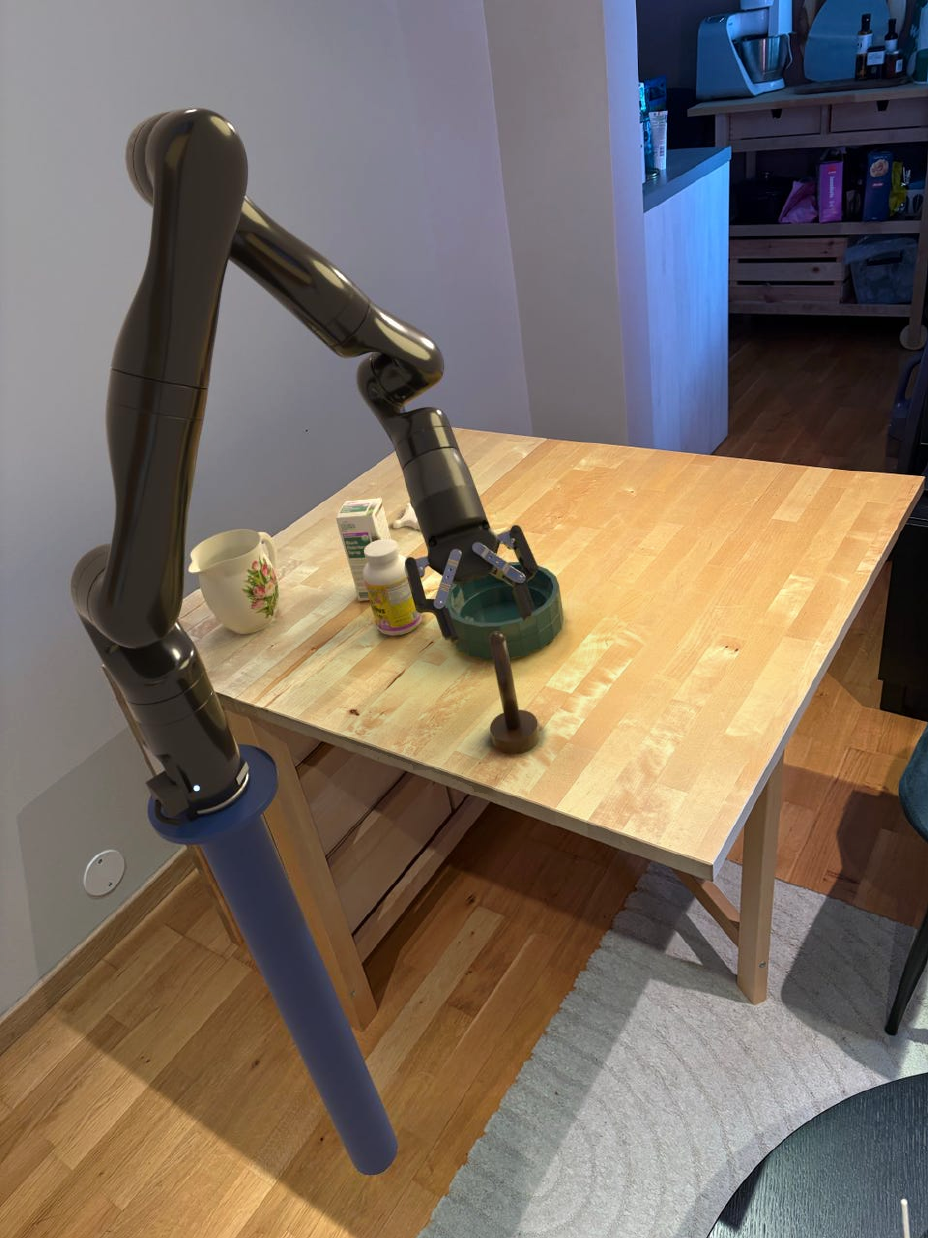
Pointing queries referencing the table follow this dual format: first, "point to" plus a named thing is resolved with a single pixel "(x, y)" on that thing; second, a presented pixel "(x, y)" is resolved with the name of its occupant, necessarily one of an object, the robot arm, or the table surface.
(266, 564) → the pitcher
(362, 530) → the syrup box
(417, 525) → the acanthus leaf ornament
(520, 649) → the bowl
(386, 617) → the supplement bottle
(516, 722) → the brown peg on disc
